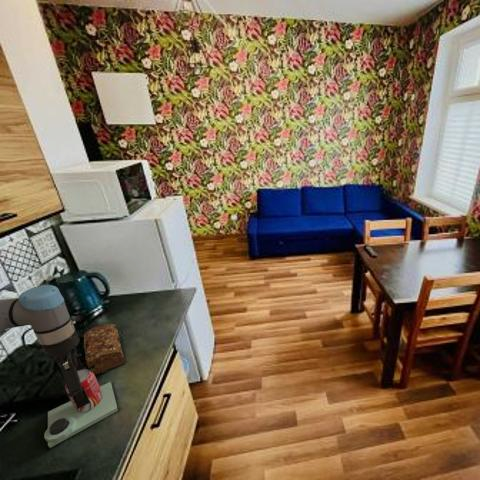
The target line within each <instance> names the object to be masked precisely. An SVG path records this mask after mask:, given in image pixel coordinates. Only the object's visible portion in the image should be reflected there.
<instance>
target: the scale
mask: <svg viewBox="0 0 480 480" xmlns="http://www.w3.org/2000/svg"><path fill="white" fill-rule="evenodd" d="M100 388H101V391H102V395H103V398H102V400H101V401H100V403H99V404H98V405H97V406H95V407H94V408H92V409H90V410H88V411H85V412H78V411H77V410H76V409H75V407H74V406H73V404H72V402H71V400H69V401H68V402H66V403H63V404H61V405H59V406H57V407H55V408H52V409H51V410H49V411H47V429H46V430H45V432H44V437H43V438H44V440H45V441H46V442H47V446H48V448H49V449H51V448H53V447H54V446H57V445H58V444H60V443H62V442H64V441H66V440H67V439H69V438H71V437H73V436H74V435H77V434H79V433H80V432H82V431H84V430H86V429H87V428H89V427H91V426H93V425H95V424H96V423H99V422H100V421H103V420H104V419H106V418H107V417H109V416H111V415H112V414H113V415H114V413H116V412H118V411H119V410H118V406H117V401H116V398H115V393H114V389H113V385H112V381H109V382H107V383H105V384H102V385H100ZM61 418H65V419H66V420H67V422H68V427H67V428H66V429H65V430H64V431H63V432H61V433H59V434H56V435H53V434H52V433H51V431H50V426H51V425H52V424H53V423H54V422H55V421H57V420H59V419H61Z"/></svg>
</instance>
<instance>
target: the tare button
mask: <svg viewBox="0 0 480 480" xmlns="http://www.w3.org/2000/svg"><path fill="white" fill-rule="evenodd" d="M67 427H68V422H67V420H66V419H65V418H61V419H59V420H57V421H55V422H54V423H53V424H52V425H51V426H50V431H51V433H52V434H53V435H56V434H59V433H61V432H63V431H64V430H65V429H66V428H67Z"/></svg>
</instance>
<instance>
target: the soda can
mask: <svg viewBox="0 0 480 480" xmlns="http://www.w3.org/2000/svg"><path fill="white" fill-rule="evenodd" d="M77 372H78V375H79V378H80V382H81V385H82V386H83V387H84V389H85V392H86V394H87V396H88V399H89V401H90V403H89V404H87V405H85V406H83V407H81V408H79V409H78V408H77V405H76V403H75V401H74V399H73V397H70V396H68V398H69V401H71V402H72V404H73V406H74V407H75V409H76V410H77V411H78V412H85V411H88V410H90V409H92V408H94V407H95V406H97V405H98V404H99V403H100V401H101V400H102V398H103V395H102V391H101V388H100V387H101V385H100V384H99V382H98V379H97V377H96V375H94V374H93V373H92V372H91V371H90V369H89V368H88V369H87V368H84V369H83V370H79V371H77ZM64 389H65V391H66V393H67V394H69V391H68V388H67V385H66V384H65V387H64ZM67 394H66V395H67Z"/></svg>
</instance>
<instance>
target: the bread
mask: <svg viewBox="0 0 480 480" xmlns="http://www.w3.org/2000/svg"><path fill="white" fill-rule="evenodd" d="M83 348H84V353H85V355H84V356H85V357H84V358H85V363H86V365H87V366H86V367H88V370H89V371H90V372H92V373H93V374H94V375H95V376H97V375H99V374H104V373H105V372H107V371H109V370H111V369H113V368H117V367H119V366H121V365H123V364H125V356H124V353H123V348H122V344H121V339H120V335H119V331H118V327H117V325H116V324H113V323H112V324H111V323H110V324H109V323H108V324H107V323H106V324H102V325H97V326H94V327H92V328H90V329H88V330H87V331H85V333H84V334H83Z"/></svg>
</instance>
